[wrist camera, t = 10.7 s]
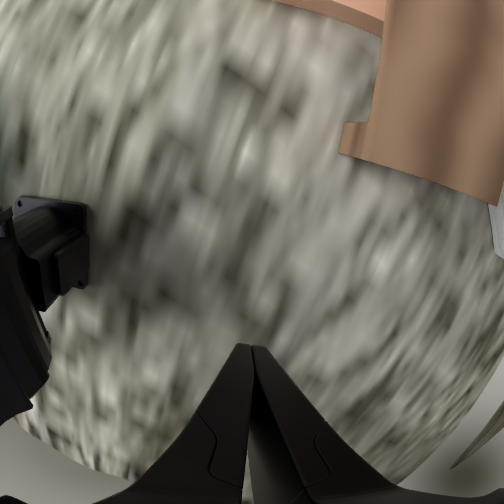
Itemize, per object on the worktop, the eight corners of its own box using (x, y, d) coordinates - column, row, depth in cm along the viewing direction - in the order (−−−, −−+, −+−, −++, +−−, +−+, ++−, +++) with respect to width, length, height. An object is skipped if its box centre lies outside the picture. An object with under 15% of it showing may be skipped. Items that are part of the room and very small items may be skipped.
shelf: (338, 152, 18) (369, 161, 14) (371, -74, 11) (396, -104, 6) (454, 189, 19) (497, 207, 15) (474, -20, 12) (508, -33, 7)
